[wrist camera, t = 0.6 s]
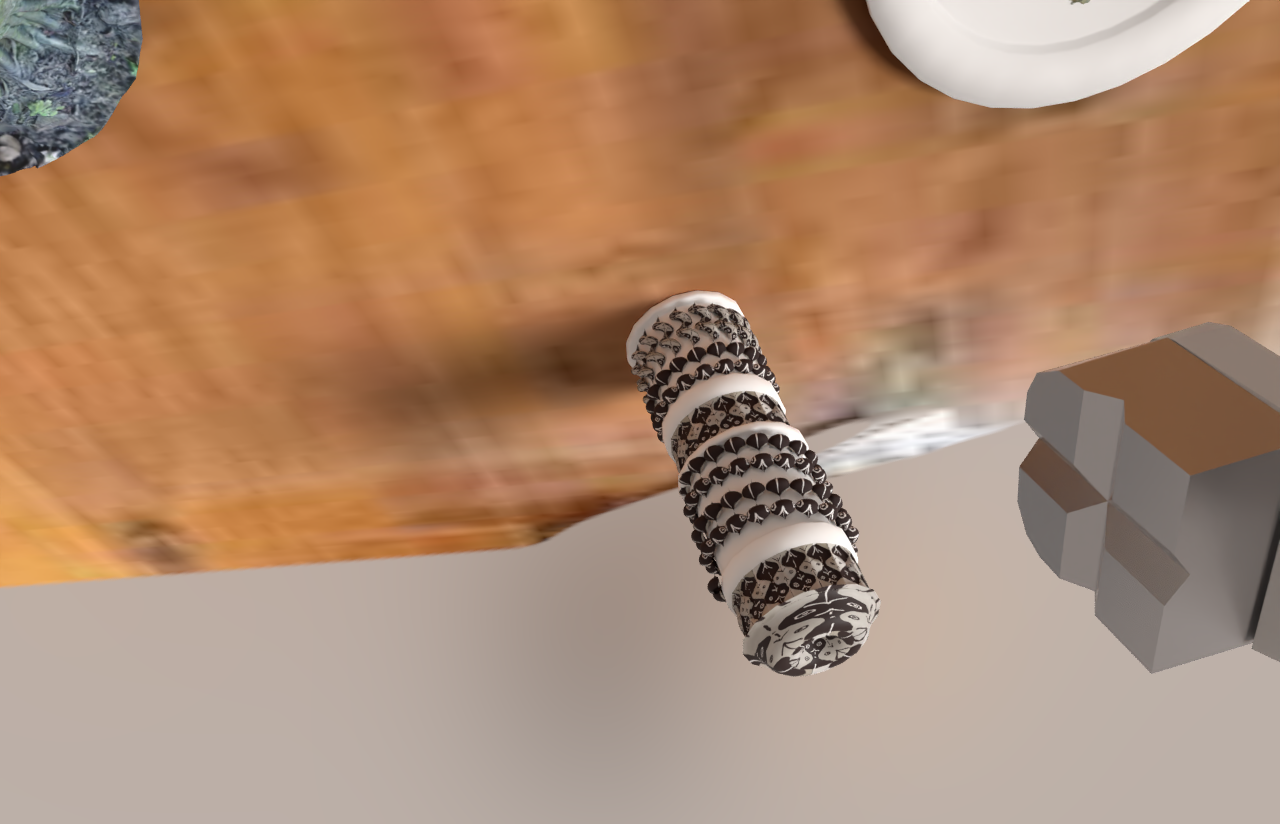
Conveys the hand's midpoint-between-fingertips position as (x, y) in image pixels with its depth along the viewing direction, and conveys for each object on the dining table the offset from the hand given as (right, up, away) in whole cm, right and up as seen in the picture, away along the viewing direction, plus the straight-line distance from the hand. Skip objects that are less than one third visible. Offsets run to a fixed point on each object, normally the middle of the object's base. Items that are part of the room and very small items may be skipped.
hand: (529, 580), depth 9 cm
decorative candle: (+4, +6, +73) cm, 73 cm away
